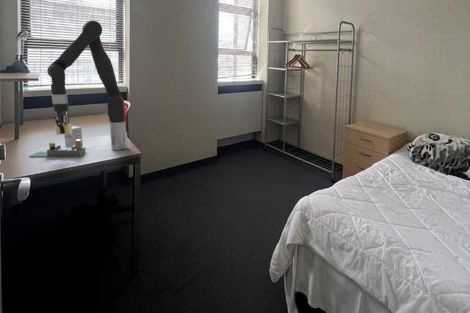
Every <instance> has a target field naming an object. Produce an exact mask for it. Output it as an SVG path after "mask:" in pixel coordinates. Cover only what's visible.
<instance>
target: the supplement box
mask: <svg viewBox="0 0 470 313" xmlns="http://www.w3.org/2000/svg"><path fill="white" fill-rule="evenodd" d="M63 135H64V144H65V147H72V146H73V145H76V142H75V141H76V140H77V139H82V147H84V143H83V133H82V126H77V125H76V126H74V125H72V133H71V134H63Z"/></svg>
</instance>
